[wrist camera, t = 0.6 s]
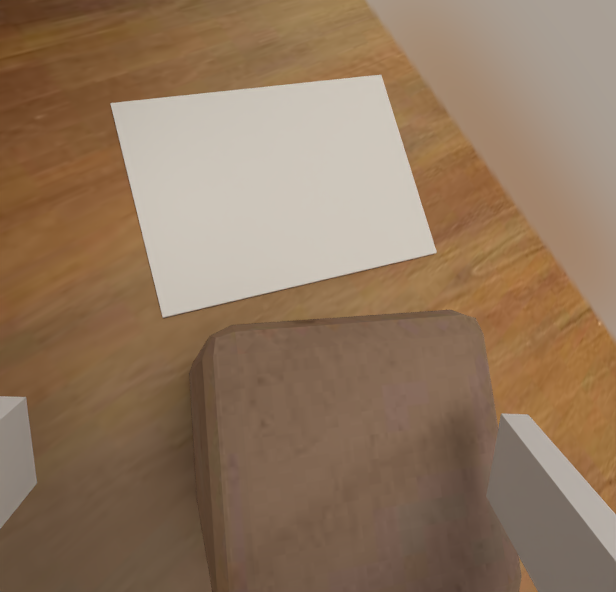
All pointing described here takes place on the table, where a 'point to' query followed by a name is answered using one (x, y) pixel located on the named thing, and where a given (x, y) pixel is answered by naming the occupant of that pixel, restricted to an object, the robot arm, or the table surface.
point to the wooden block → (349, 456)
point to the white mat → (269, 188)
